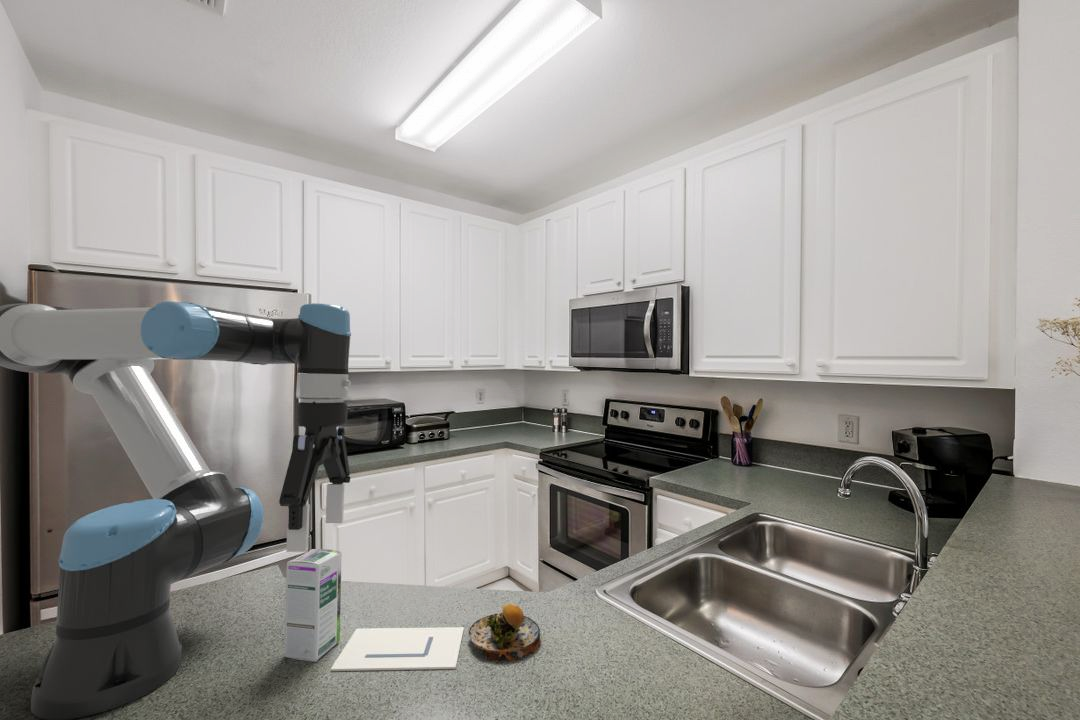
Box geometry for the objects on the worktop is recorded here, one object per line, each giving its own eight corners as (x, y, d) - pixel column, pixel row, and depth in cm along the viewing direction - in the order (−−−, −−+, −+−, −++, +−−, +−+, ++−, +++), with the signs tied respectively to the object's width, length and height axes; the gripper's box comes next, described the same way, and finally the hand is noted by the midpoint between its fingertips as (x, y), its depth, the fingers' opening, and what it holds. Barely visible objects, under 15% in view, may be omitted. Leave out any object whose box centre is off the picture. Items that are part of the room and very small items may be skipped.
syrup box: (316, 663, 68) (320, 563, 69) (281, 657, 70) (286, 560, 70) (340, 642, 74) (343, 550, 75) (308, 637, 75) (311, 547, 76)
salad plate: (494, 616, 83) (495, 574, 84) (552, 634, 78) (553, 588, 78) (452, 650, 73) (454, 601, 73) (517, 673, 67) (518, 620, 68)
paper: (330, 671, 66) (330, 668, 66) (356, 630, 77) (356, 628, 77) (455, 668, 67) (455, 666, 67) (463, 629, 78) (464, 626, 78)
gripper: (312, 404, 62) (306, 566, 60) (370, 398, 86) (366, 513, 85) (254, 403, 61) (247, 566, 60) (329, 398, 86) (325, 513, 85)
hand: (317, 535), depth 73 cm, fingers open, 13 cm apart
